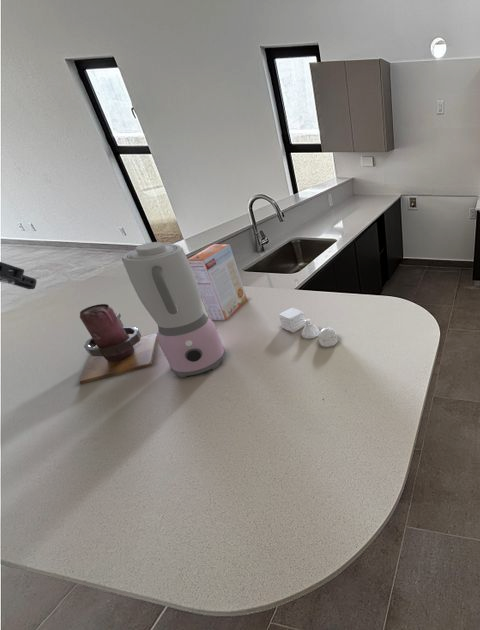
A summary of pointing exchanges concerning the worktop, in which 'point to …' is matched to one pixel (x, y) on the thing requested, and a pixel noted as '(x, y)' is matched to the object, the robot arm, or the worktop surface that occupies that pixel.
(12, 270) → the robot arm
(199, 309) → the blender
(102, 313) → the can
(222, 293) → the cracker box
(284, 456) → the worktop surface
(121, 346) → the stand
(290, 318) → the container set
